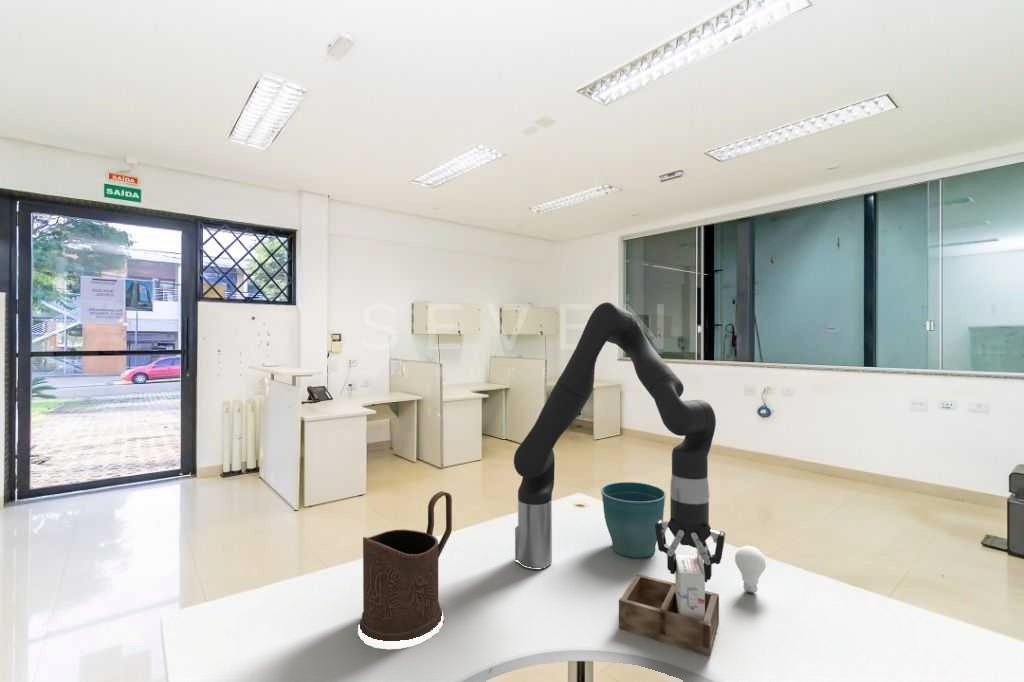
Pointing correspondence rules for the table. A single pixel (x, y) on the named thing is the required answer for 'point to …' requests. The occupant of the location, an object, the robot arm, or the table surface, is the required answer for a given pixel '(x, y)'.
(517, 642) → the table surface
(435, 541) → the cup holder
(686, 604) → the ink cartridge box
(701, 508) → the robot arm
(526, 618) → the table surface
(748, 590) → the light bulb
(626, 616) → the walnut rack
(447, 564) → the table surface
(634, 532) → the flower pot
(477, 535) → the table surface
